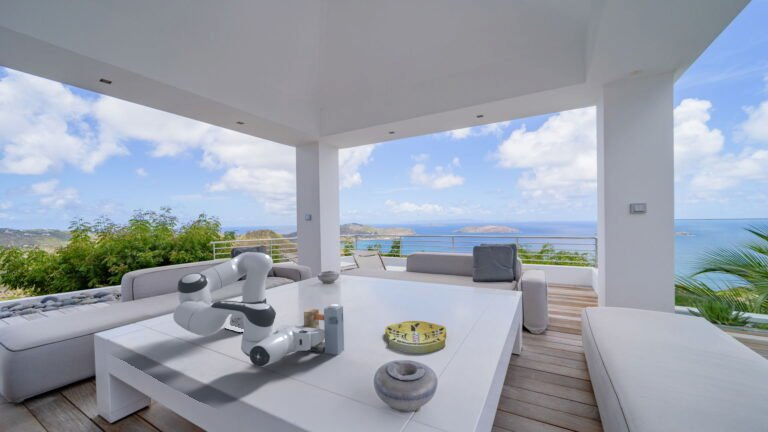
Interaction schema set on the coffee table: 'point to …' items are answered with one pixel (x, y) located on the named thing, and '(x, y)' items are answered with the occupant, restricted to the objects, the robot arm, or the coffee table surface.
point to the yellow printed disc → (416, 336)
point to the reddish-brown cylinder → (319, 316)
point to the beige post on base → (311, 319)
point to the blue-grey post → (334, 329)
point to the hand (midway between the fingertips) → (311, 327)
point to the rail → (319, 347)
